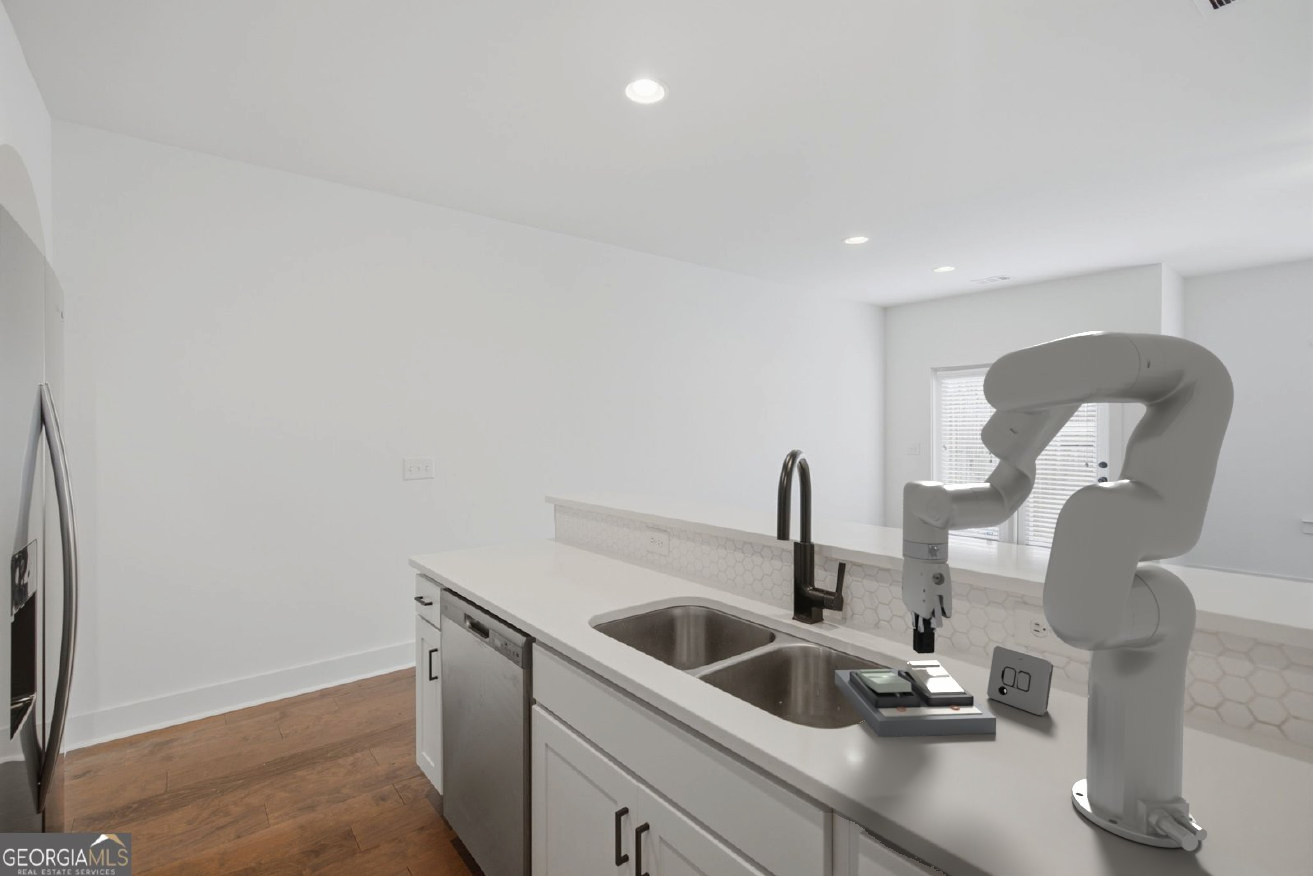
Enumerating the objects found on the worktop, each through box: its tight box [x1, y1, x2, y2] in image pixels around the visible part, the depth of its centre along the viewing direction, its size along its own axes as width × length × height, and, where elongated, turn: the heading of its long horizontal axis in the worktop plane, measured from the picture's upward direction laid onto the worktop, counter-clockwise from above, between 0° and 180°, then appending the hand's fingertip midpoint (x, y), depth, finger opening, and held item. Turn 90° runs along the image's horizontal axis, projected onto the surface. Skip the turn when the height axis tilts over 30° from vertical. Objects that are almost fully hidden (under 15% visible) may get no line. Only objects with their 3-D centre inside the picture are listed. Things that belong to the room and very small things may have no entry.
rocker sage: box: [858, 668, 912, 692], centre depth 108 cm, size 9×6×2 cm, turn 4°
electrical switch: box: [986, 645, 1054, 717], centre depth 110 cm, size 9×5×9 cm, turn 35°
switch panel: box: [834, 668, 997, 738], centre depth 108 cm, size 20×19×4 cm
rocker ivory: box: [906, 660, 964, 695], centre depth 109 cm, size 9×6×2 cm, turn 4°
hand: (923, 651), depth 112 cm, fingers closed
